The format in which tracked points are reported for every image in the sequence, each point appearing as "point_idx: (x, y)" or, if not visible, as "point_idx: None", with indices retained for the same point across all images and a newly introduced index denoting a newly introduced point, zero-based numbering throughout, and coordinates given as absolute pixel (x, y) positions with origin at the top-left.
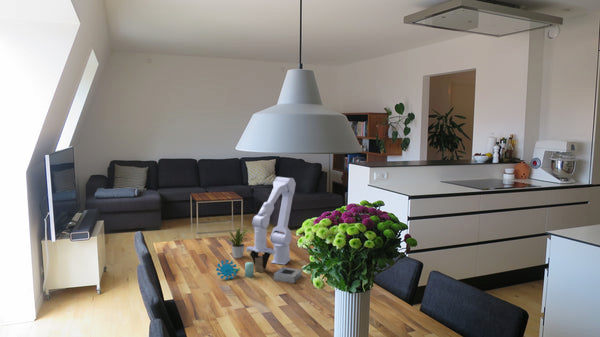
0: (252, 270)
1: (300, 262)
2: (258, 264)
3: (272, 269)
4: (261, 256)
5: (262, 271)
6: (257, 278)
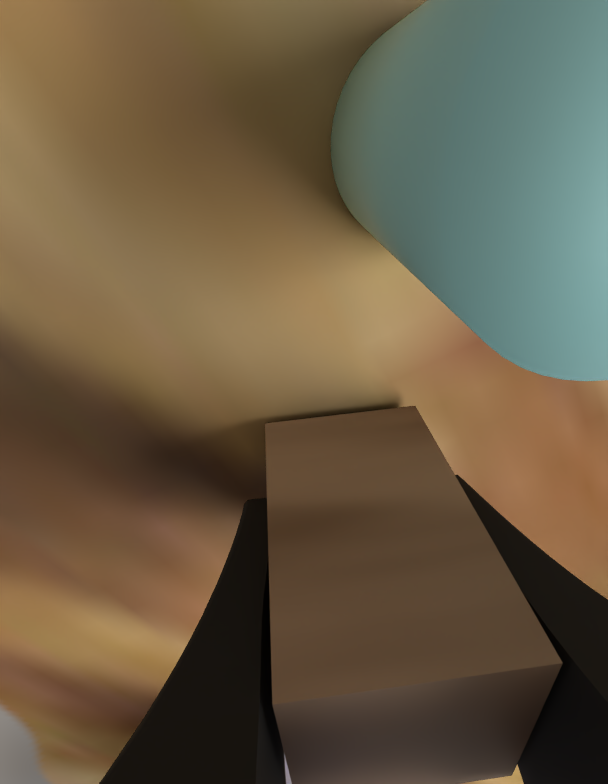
0: (368, 114)
1: (84, 775)
2: (377, 514)
3: (208, 567)
4: (410, 774)
5: (265, 428)
6: (151, 54)
